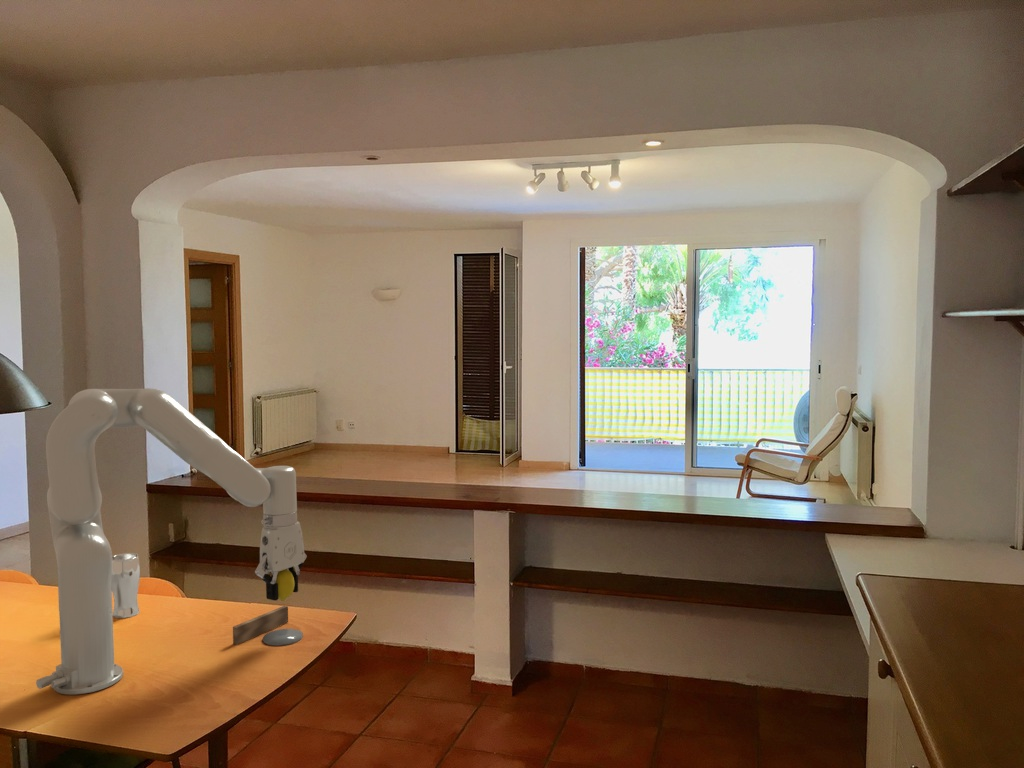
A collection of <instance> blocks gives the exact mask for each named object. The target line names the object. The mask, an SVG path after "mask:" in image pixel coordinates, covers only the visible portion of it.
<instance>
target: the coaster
mask: <svg viewBox="0 0 1024 768" xmlns="http://www.w3.org/2000/svg"><path fill="white" fill-rule="evenodd" d="M303 634H304V633H303V632H302V631H301V630H299V629H294V628H280V629H276V630H271V631H270V632H269V631H268V632H266V633H265V634H264V635H263V637H262V642H263V643H264V644H265V645H268V646H273V647H275V646H276V647H279V646H280V647H281V646H282V647H283V646H287V645H293V644H295V643H298V642H299V641H301V640H302V639H303Z"/></svg>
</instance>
